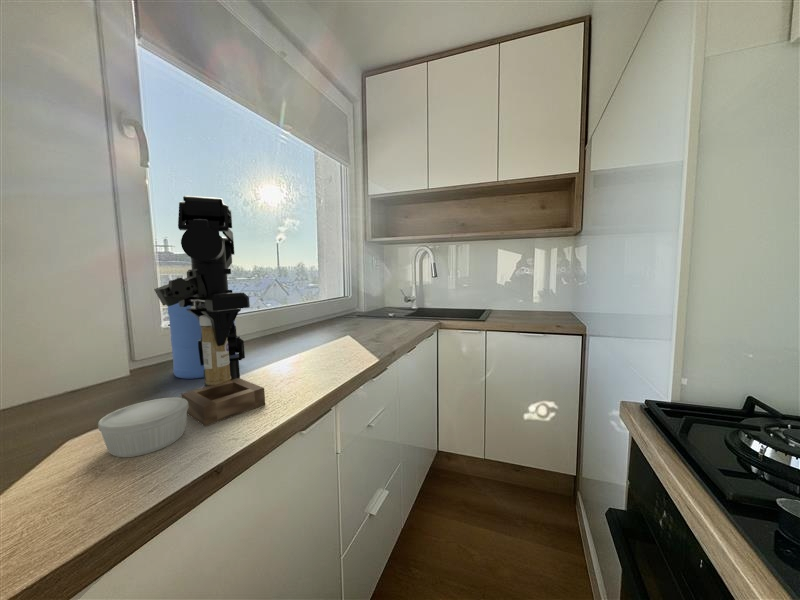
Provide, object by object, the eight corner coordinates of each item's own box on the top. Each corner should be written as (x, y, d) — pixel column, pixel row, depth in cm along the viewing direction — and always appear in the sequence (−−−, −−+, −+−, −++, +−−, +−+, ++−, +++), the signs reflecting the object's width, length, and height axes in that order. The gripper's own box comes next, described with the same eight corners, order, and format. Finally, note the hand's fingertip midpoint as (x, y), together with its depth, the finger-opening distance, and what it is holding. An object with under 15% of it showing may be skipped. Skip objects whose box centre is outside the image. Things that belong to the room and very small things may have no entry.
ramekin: (127, 431, 54) (124, 401, 53) (200, 421, 57) (198, 392, 56) (81, 469, 43) (77, 433, 43) (174, 454, 46) (171, 420, 46)
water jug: (250, 366, 91) (243, 270, 89) (191, 383, 77) (181, 270, 75) (220, 360, 99) (213, 272, 97) (162, 374, 86) (153, 272, 83)
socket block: (239, 393, 70) (238, 377, 69) (265, 404, 63) (264, 387, 63) (182, 410, 61) (181, 393, 61) (205, 426, 54) (203, 407, 54)
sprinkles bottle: (232, 382, 61) (226, 314, 60) (204, 387, 58) (198, 316, 57) (230, 376, 65) (225, 312, 63) (204, 381, 62) (199, 314, 61)
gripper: (143, 265, 59) (151, 346, 61) (174, 261, 47) (183, 361, 49) (208, 265, 68) (214, 336, 69) (247, 261, 56) (254, 347, 57)
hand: (215, 344), depth 61 cm, fingers closed on sprinkles bottle, 4 cm apart
